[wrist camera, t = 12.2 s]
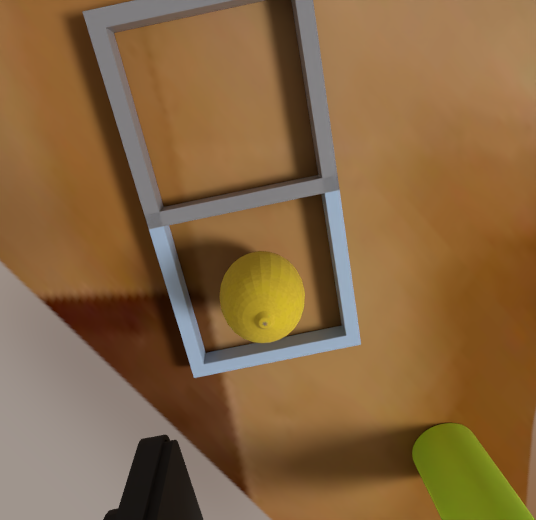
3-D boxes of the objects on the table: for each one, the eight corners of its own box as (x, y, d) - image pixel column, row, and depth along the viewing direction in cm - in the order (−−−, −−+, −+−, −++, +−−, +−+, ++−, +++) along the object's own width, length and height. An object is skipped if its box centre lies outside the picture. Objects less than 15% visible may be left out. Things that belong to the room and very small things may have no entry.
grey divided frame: (92, 18, 25) (82, 11, 23) (303, -28, 25) (307, -37, 23) (196, 365, 33) (194, 377, 32) (355, 333, 33) (361, 344, 32)
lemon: (208, 282, 31) (196, 335, 23) (251, 223, 30) (254, 259, 22) (267, 320, 32) (275, 381, 25) (311, 265, 31) (333, 312, 23)
